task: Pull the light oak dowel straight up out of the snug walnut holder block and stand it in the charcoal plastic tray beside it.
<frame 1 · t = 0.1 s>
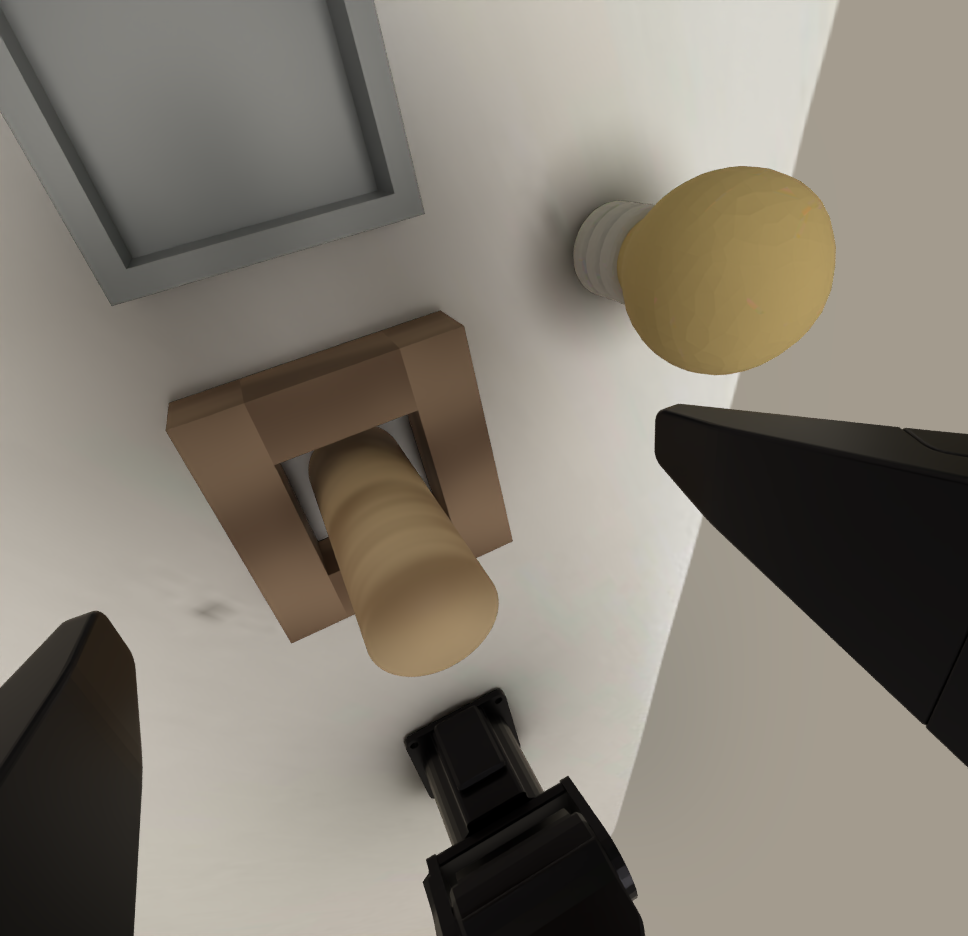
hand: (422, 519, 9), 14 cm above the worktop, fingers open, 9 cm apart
bit holder: (357, 467, 24), on the worktop
light bulb: (600, 247, 25), on the worktop
dowel: (388, 529, 20), in the bit holder
tray: (204, 76, 17), on the worktop
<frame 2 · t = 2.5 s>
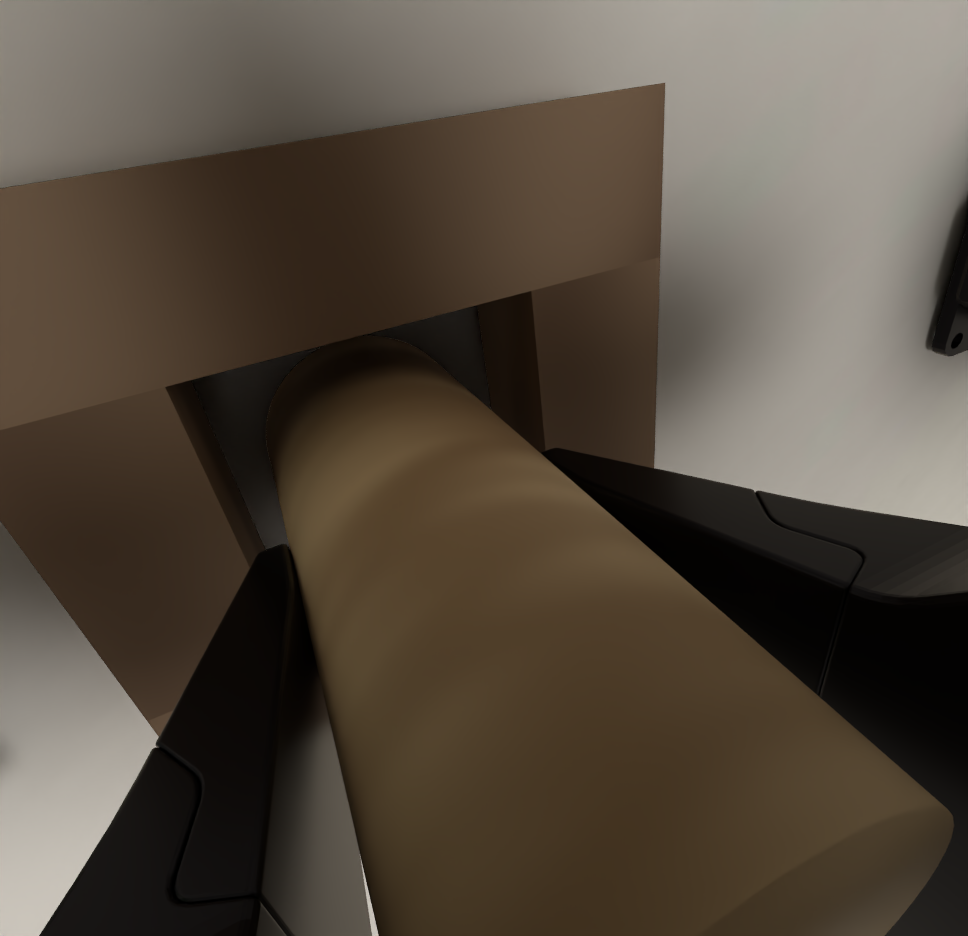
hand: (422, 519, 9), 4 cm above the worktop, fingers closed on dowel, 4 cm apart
bit holder: (369, 432, 12), on the worktop
dowel: (455, 574, 8), in the bit holder, touching gripper
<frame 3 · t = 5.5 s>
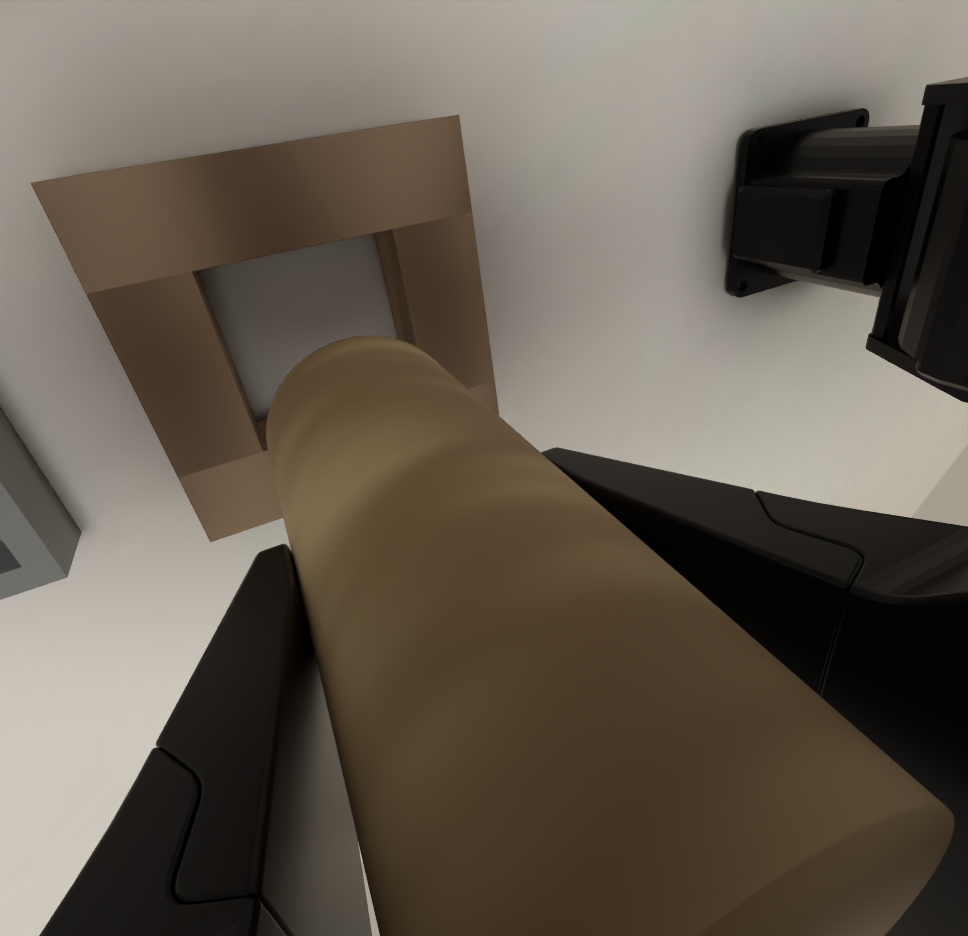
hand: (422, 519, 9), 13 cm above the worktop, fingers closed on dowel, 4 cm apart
bit holder: (311, 324, 19), on the worktop
dowel: (456, 574, 8), point 14 cm above the worktop, touching gripper
when the fingers open (5 cm above the worktop, at t = 8.6 s): dowel stays where it is, resting on tray.
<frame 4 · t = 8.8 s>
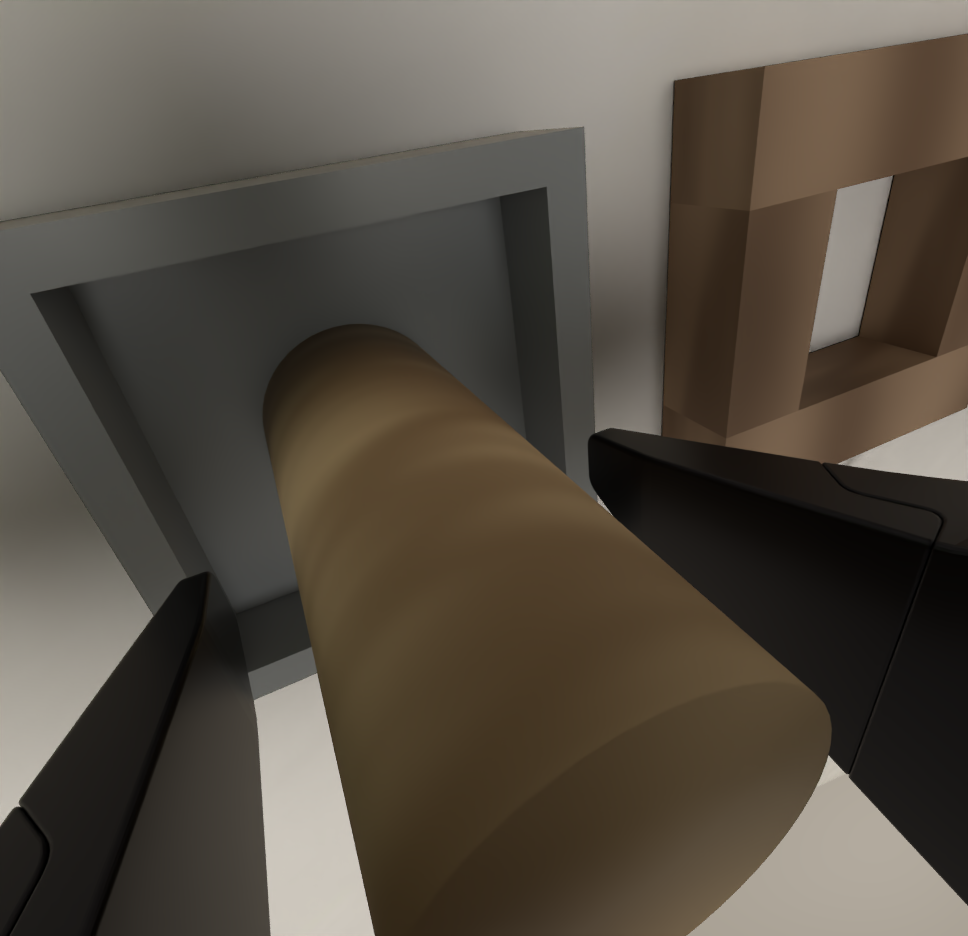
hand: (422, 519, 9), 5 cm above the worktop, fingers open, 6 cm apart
bit holder: (811, 270, 17), on the worktop
dowel: (432, 536, 9), in the tray
tray: (352, 407, 13), on the worktop
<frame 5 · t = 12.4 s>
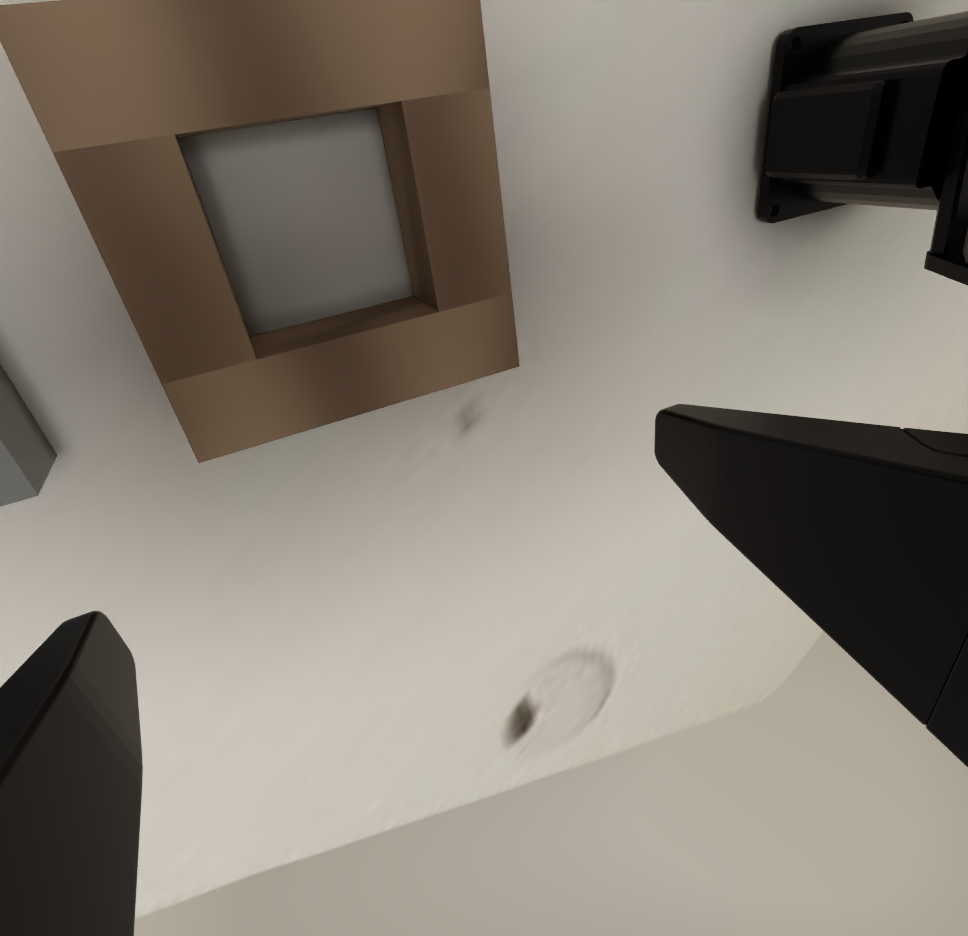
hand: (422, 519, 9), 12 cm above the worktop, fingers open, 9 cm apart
bit holder: (311, 226, 17), on the worktop
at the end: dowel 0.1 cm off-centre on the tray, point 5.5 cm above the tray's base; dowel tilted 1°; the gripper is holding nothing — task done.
